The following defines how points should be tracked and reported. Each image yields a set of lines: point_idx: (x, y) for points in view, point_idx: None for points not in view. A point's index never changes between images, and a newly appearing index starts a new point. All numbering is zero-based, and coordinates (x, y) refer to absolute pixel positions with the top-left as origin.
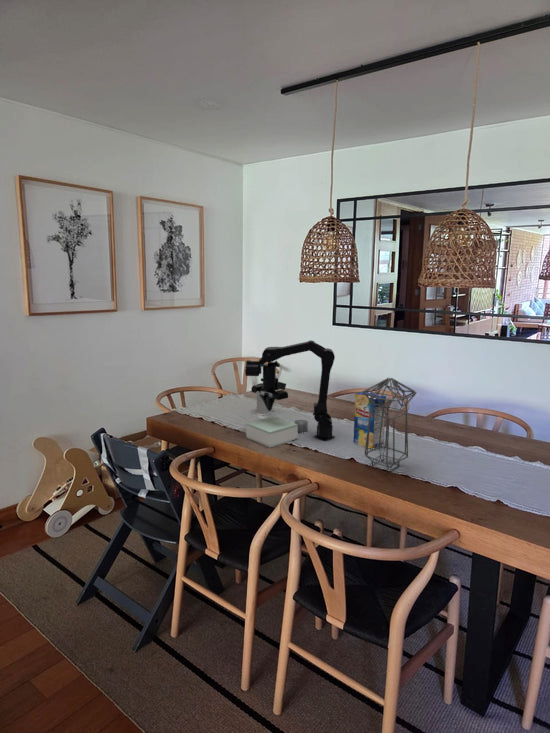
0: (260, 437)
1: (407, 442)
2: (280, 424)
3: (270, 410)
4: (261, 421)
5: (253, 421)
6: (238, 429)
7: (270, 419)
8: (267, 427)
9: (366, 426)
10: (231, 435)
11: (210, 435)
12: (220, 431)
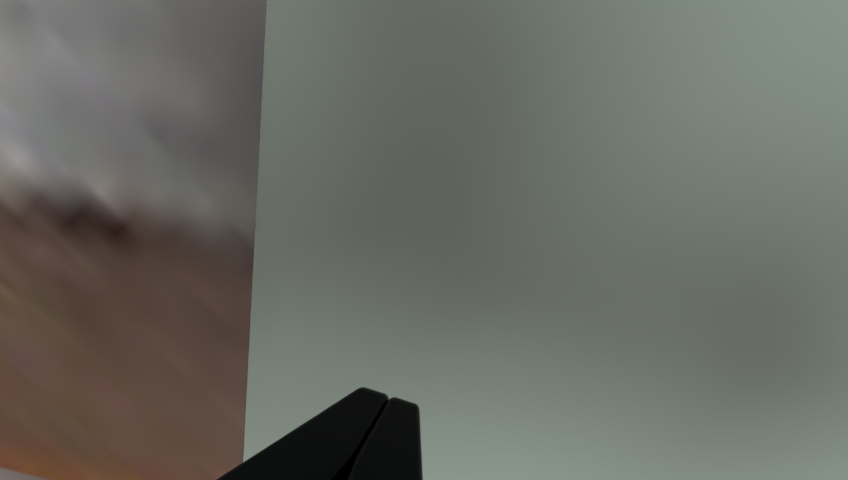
0: None
1: None
2: (834, 329)
3: (416, 418)
4: (358, 346)
5: (259, 402)
6: (60, 179)
7: (408, 146)
8: None
9: None
10: (174, 370)
11: (61, 449)
12: (16, 330)
